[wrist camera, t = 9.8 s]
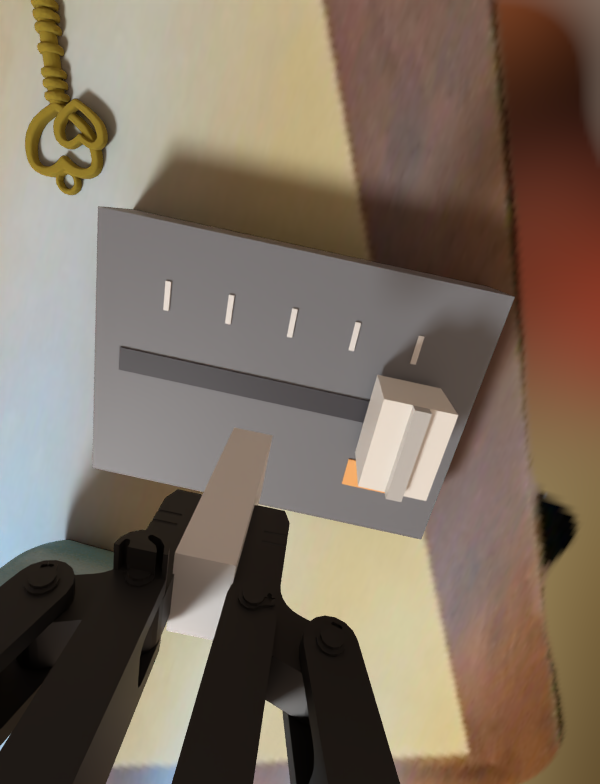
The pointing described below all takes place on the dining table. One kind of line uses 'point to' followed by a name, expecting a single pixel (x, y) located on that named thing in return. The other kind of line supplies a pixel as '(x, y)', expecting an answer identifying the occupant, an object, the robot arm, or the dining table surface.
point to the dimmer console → (271, 359)
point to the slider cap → (403, 438)
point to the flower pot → (62, 558)
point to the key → (61, 109)
